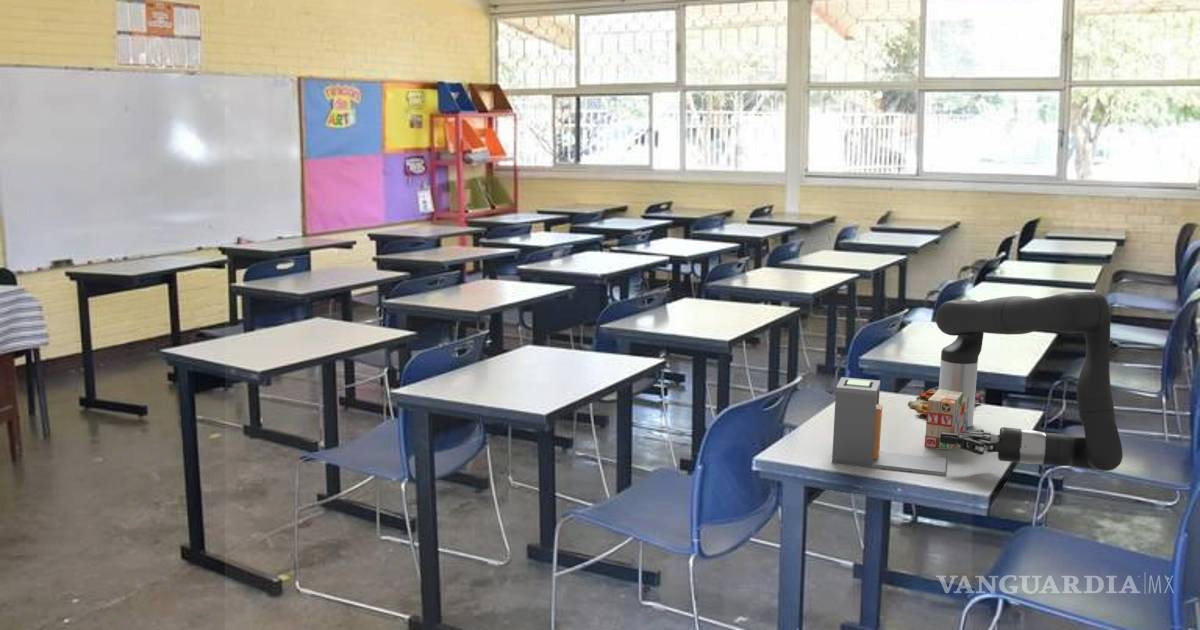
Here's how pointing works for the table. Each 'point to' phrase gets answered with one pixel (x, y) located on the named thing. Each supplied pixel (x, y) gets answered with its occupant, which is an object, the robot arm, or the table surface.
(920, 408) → the gear puzzle
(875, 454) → the orange upright cuboid
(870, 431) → the grey tower on baseplate
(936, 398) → the stack of blocks
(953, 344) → the robot arm
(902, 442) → the table surface
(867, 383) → the on button
